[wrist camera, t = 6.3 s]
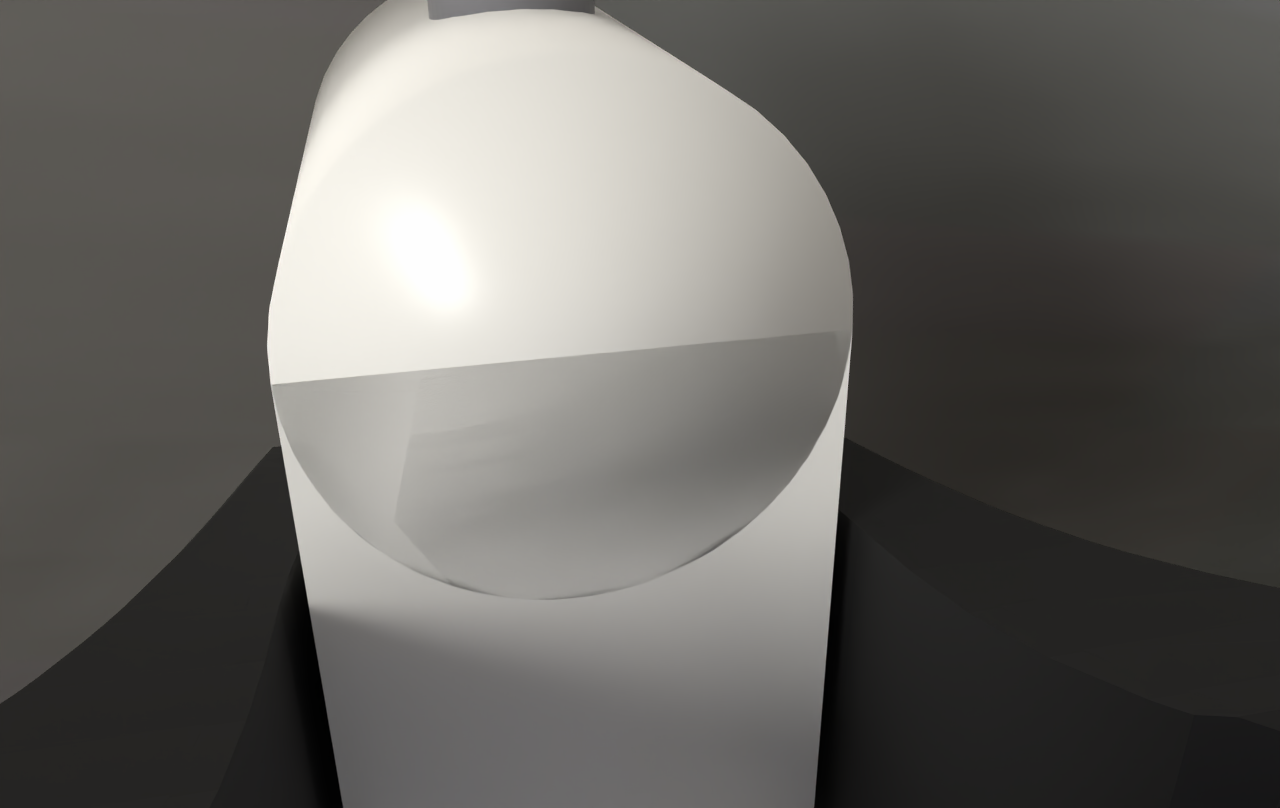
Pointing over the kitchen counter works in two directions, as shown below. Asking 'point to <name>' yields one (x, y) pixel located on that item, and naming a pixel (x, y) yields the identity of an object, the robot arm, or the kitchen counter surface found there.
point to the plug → (559, 418)
